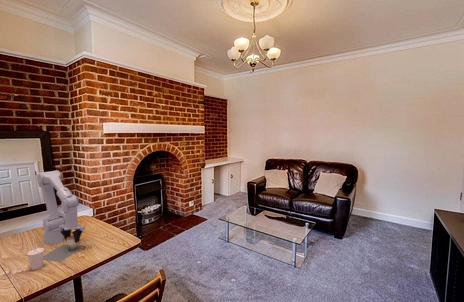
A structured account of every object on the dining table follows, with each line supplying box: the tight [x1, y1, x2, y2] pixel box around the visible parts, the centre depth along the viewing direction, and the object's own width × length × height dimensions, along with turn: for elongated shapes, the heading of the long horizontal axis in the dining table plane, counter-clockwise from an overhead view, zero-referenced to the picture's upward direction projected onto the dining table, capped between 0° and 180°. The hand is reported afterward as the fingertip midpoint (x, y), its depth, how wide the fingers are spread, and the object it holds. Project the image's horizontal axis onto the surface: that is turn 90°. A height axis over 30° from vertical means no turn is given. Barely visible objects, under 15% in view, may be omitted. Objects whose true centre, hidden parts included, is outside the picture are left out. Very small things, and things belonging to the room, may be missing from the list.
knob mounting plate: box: [43, 243, 85, 263], centre depth 119 cm, size 14×15×6 cm
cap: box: [66, 234, 79, 245], centre depth 122 cm, size 5×5×4 cm
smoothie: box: [26, 242, 46, 271], centre depth 106 cm, size 6×6×14 cm
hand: (72, 241), depth 122 cm, fingers closed on cap, 5 cm apart
